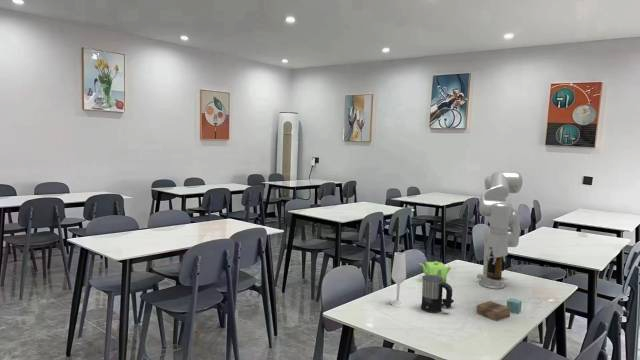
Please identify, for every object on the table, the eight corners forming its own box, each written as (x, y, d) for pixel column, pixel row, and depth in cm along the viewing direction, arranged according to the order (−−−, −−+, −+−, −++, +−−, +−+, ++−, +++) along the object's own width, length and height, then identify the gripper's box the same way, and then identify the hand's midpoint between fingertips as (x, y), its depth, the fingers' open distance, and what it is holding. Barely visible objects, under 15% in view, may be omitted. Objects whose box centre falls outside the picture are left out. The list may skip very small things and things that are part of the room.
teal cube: (506, 311, 203) (507, 300, 202) (509, 308, 206) (510, 297, 206) (517, 314, 199) (518, 303, 199) (520, 311, 203) (521, 300, 203)
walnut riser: (476, 313, 198) (477, 304, 198) (489, 309, 204) (490, 300, 204) (496, 321, 190) (497, 312, 190) (509, 316, 196) (510, 307, 196)
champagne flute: (387, 303, 207) (389, 253, 205) (395, 300, 212) (397, 251, 210) (399, 307, 202) (402, 256, 200) (407, 304, 207) (410, 253, 205)
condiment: (493, 274, 201) (495, 248, 200) (508, 279, 193) (510, 252, 192) (481, 276, 198) (483, 249, 197) (496, 281, 190) (498, 254, 189)
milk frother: (419, 311, 199) (420, 278, 198) (423, 299, 214) (425, 269, 213) (451, 316, 194) (453, 283, 193) (454, 304, 209) (456, 273, 208)
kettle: (440, 288, 233) (441, 267, 232) (416, 281, 243) (417, 261, 242) (453, 282, 244) (454, 262, 243) (430, 276, 253) (431, 257, 253)
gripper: (502, 228, 202) (499, 266, 203) (479, 231, 192) (476, 272, 193) (517, 231, 196) (514, 270, 197) (494, 234, 186) (491, 276, 187)
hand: (495, 271), depth 195 cm, fingers closed on condiment, 6 cm apart
